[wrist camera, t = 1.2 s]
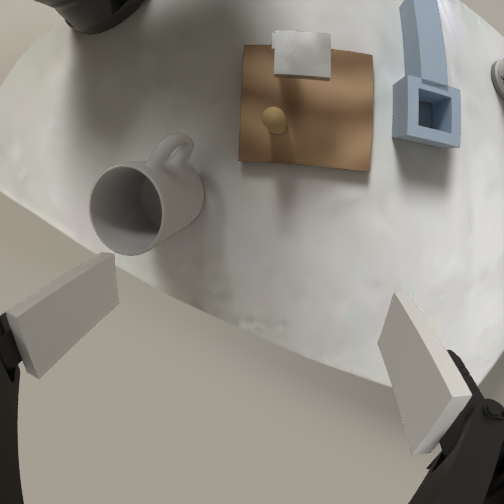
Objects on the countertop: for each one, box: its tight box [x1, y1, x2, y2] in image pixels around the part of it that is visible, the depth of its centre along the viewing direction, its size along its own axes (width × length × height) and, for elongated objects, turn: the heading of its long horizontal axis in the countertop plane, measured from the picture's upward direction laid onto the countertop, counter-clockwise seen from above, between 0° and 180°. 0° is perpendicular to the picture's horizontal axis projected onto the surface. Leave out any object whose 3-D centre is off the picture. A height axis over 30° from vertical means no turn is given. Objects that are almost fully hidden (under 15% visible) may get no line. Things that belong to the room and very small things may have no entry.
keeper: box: [272, 30, 331, 81], centre depth 23 cm, size 5×5×7 cm
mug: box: [89, 133, 204, 256], centre depth 29 cm, size 12×8×11 cm
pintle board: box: [238, 45, 373, 172], centre depth 25 cm, size 14×14×8 cm
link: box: [392, 0, 461, 148], centre depth 23 cm, size 18×6×5 cm, turn 176°
